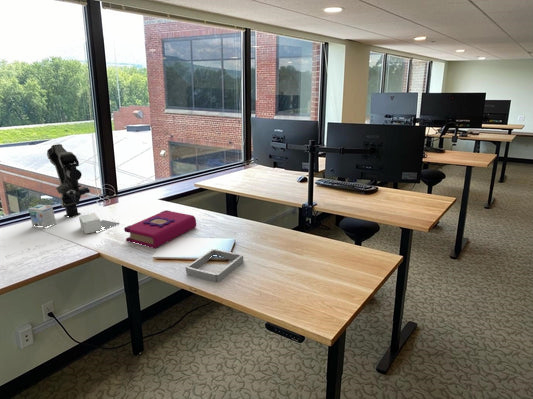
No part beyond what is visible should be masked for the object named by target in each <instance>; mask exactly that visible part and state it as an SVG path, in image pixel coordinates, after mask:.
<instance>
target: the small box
mask: <svg viewBox="0 0 533 399" xmlns="http://www.w3.org/2000/svg"><path fill="white" fill-rule="evenodd" d="M78 218H79V224H80V229H83V230H82V231H83V232H84V234H85V235H88V234H91V233H94V232H96V231H100V230H102V229H101V223H100V221H101V218H99V216H98V215H97V214H96V212H92V213H86V214H83V215H81V214H80V215H79V216H78Z"/></svg>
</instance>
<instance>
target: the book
mask: <svg viewBox="0 0 533 399" xmlns="http://www.w3.org/2000/svg"><path fill="white" fill-rule="evenodd" d="M196 219H197V218H196V217H195V216H194V215H192V214H187V213H182V212H176V211H172V210H168V209H167V210H163V211H161V212H159V213H157V214H154V215H152V216H149V217H147V218H145V219H142V220H139V221H138V222H135V223H133V224H131V225H127V226H125V227H124V228H123V231H124V232H125V233H128V234H129V235H130V236H129V237H127V238H126V239H125V241H126V242H127V241H130V242H135V243H139V244H142V245H146V246H149V247H148V248H150V247H153V248H152V249H154V248H155V249H156V247H157V248H159V247H161V246H162V244H163V245H165V244H166V242H167V241H168V242H170V241H172V240H174V239H176V238H178V237H180V236H181V235H183V234H185V233H187V232H189V231H192V230H193V229H196V227H197V220H196ZM130 242H129V243H130ZM168 242H167V243H168ZM135 243H134V244H135ZM164 243H165V244H164ZM142 245H141V246H142ZM160 245H161V246H160ZM146 246H145V247H146ZM158 246H159V247H158Z"/></svg>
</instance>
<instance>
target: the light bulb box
mask: <svg viewBox="0 0 533 399" xmlns="http://www.w3.org/2000/svg"><path fill="white" fill-rule="evenodd" d="M53 208H54V207H53V205H44V204H37V205H34V206H31V207H29V208H28V212H29V216H30V220H31V221H30V222H31V225H32V227H33V226H34V225H35V226H43V227H47V226H50V225H53V224H56V225H57V221H56V217H55V212H54V209H53Z"/></svg>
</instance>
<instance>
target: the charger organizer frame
mask: <svg viewBox="0 0 533 399" xmlns="http://www.w3.org/2000/svg"><path fill="white" fill-rule="evenodd" d="M213 255H217V256H221V257H224V258H223V259H225V258H226V259H225V260H230V261H231V262H230V263H229V264H227V265H226V266H225V267H224V268H222V269H221V270H220V271H218V272H217V273H215V272H210V271H207V270H202V269H199V267H201V266H203V265H204V264H205V263H206V262H208V261H209V260H210V259H209V258H210V257H211V256H213ZM243 263H244V255H242V254H241V253H237V252H230V251H227V250H222V249H218V248H214V249H213V248H212V249H210V250H209V251H207V252H206V253H204V254H202V255H201V256H199V257H198V258H197V259H195V260H194V261H192V262H190V263H189V264H187V265H186V266H185V273H187V274H186V275H187V276H190V275H191V277H194V276H195V277H194V278H199V279H203V280H205V281H209V282H214V283H219V282H221V281H222V280H224V279H225V278H226V277H227V276H228V275H229V274H232V272H233V271H235V270H236V269H237V268H239V266H240V265H242V264H243Z"/></svg>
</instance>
